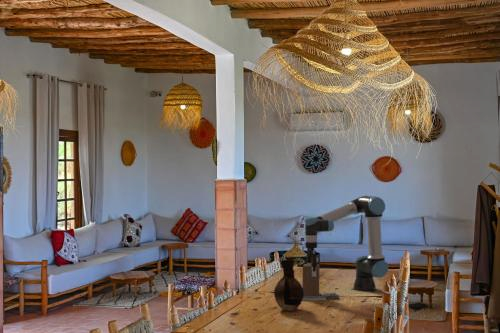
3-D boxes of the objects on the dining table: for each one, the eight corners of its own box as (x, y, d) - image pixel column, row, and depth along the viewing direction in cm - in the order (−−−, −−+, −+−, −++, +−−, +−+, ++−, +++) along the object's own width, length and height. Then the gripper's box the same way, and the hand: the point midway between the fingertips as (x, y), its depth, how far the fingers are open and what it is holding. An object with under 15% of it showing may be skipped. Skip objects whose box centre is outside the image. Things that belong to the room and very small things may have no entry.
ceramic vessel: (301, 314, 396) (302, 262, 396) (271, 313, 399) (271, 261, 399) (305, 306, 417) (305, 257, 417) (276, 305, 420) (276, 256, 420)
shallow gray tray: (320, 295, 452) (320, 292, 452) (325, 300, 438) (325, 296, 438) (296, 296, 450) (296, 292, 450) (301, 300, 436) (301, 296, 436)
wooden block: (318, 298, 438) (318, 266, 438) (302, 297, 440) (302, 266, 440) (319, 295, 448) (319, 264, 448) (303, 294, 450) (304, 263, 449)
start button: (333, 296, 447) (333, 292, 447) (334, 297, 443) (334, 293, 443) (327, 296, 446) (327, 292, 446) (328, 297, 442) (328, 293, 442)
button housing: (335, 296, 449) (335, 293, 449) (338, 299, 441) (338, 295, 441) (323, 296, 448) (323, 293, 448) (326, 299, 440) (326, 295, 440)
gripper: (301, 239, 455) (301, 271, 456) (309, 244, 431) (310, 278, 431) (312, 239, 456) (312, 271, 457) (321, 243, 432) (321, 277, 432)
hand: (311, 274), depth 444 cm, fingers open, 13 cm apart
